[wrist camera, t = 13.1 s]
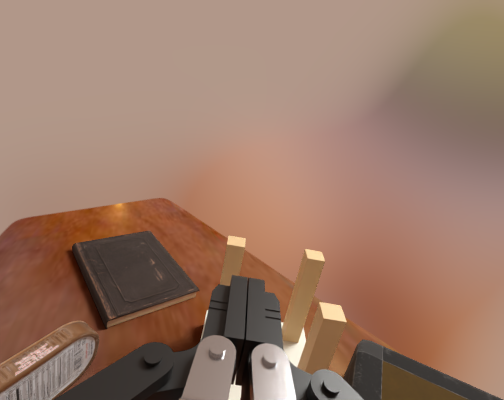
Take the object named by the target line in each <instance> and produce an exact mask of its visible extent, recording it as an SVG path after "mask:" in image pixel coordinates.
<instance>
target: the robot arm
mask: <svg viewBox="0 0 504 400" xmlns="http://www.w3.org/2000/svg"><path fill="white" fill-rule="evenodd" d="M235 376H236V380H235ZM234 380H235V385H239V386H242V387H241V398H240V400H364V399H363V398H362V397H361V396H360V395H359V394H358V393H357V392H356V391H355V390H354V389H353V388H352V387H351V386H350V385H349V384H348V383H347V382H346V381H345V380H344V379H343V378H342V377H341V376H340V375H338V374H337V373H335V372H333V371H331V370H326V369H321V370H318V371H316V372H315V373H314V374H313V375H312V374H309V373H307V372H305V371H303V370H301V369H299V368H297V367H296V366H294V365H293V364H292V363H291V362H290V361H289V359H288V356H287V355H286V353H285V352H284V349H283V338H282V327H281V316H280V304H279V301H278V299H277V298H276V296H275V294H274V293H268V292H265V282H264V280H260V279H254V278H247V277H242V276H236V275H232V277H231V282H230V286H226V285H220V284H218V286H217V287H216V288H215V289H214V290H213V291H212V296H211V300H210V305H209V309H208V314H207V319H206V323H205V328H204V332H203V336H202V339H201V341H200V342H199V343H198V344H197V345H196V346H195V347H193V348H191V349H189V350H186V351H180V352H173V351H172V349H171V348H170V347H169V346H167V345H166V344H163V343H159V342H152V343H147V344H145V345H143V346H141V347H139V348H138V349H136V350H134V351H133V352H131V353H129V354H128V355H126V356H124V357H123V358H121V359H120V360H118V361H116V362H115V363H113V364H111V365H110V366H108V367H106V368H105V369H103V370H102V371H100V372H98V373H97V374H95V375H93V376H92V377H90V378H89V379H87V380H85V381H84V382H82V383H80V384H79V385H77V386H75V387H74V388H72V389H71V390H69V391H67V392H66V393H64V394H62V395H61V396H59V397H57V398H56V399H54V400H228V398H229V392H230V387H231V384H232V385H233V384H234Z"/></svg>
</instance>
